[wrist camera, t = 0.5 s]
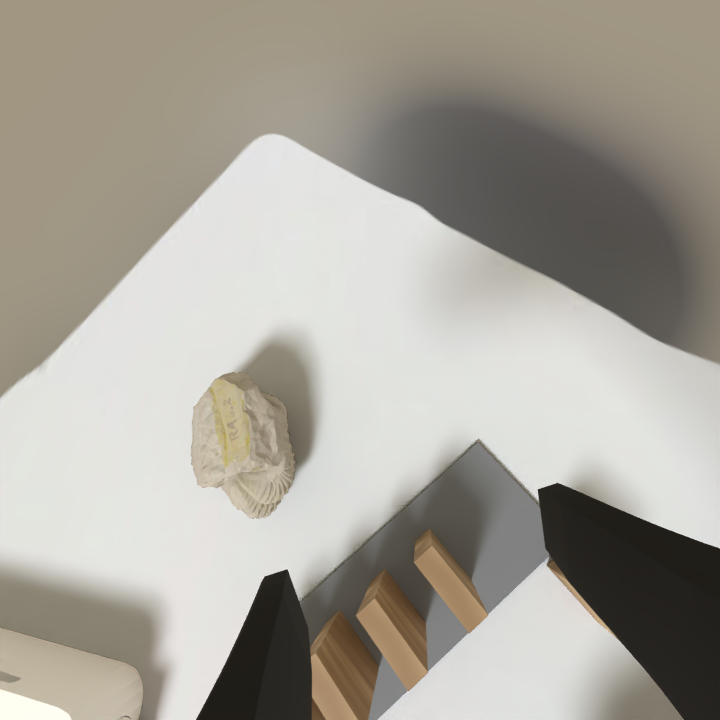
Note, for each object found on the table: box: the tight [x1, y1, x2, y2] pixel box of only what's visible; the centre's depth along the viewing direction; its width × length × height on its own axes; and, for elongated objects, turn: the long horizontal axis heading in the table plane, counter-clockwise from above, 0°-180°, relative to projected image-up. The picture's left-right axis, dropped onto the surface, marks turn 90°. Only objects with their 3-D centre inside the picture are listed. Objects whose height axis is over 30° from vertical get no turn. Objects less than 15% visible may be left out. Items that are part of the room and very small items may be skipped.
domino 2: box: [356, 569, 428, 691], centre depth 28 cm, size 2×5×8 cm, turn 40°
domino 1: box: [310, 610, 379, 720], centre depth 27 cm, size 2×5×8 cm, turn 40°
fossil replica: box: [191, 372, 296, 519], centre depth 33 cm, size 12×8×10 cm
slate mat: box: [300, 442, 550, 720], centre depth 31 cm, size 10×28×1 cm, turn 130°
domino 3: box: [414, 529, 488, 633], centre depth 28 cm, size 2×5×8 cm, turn 40°
